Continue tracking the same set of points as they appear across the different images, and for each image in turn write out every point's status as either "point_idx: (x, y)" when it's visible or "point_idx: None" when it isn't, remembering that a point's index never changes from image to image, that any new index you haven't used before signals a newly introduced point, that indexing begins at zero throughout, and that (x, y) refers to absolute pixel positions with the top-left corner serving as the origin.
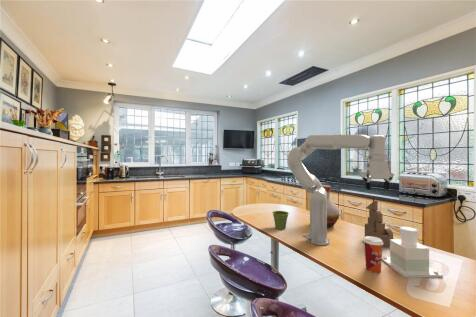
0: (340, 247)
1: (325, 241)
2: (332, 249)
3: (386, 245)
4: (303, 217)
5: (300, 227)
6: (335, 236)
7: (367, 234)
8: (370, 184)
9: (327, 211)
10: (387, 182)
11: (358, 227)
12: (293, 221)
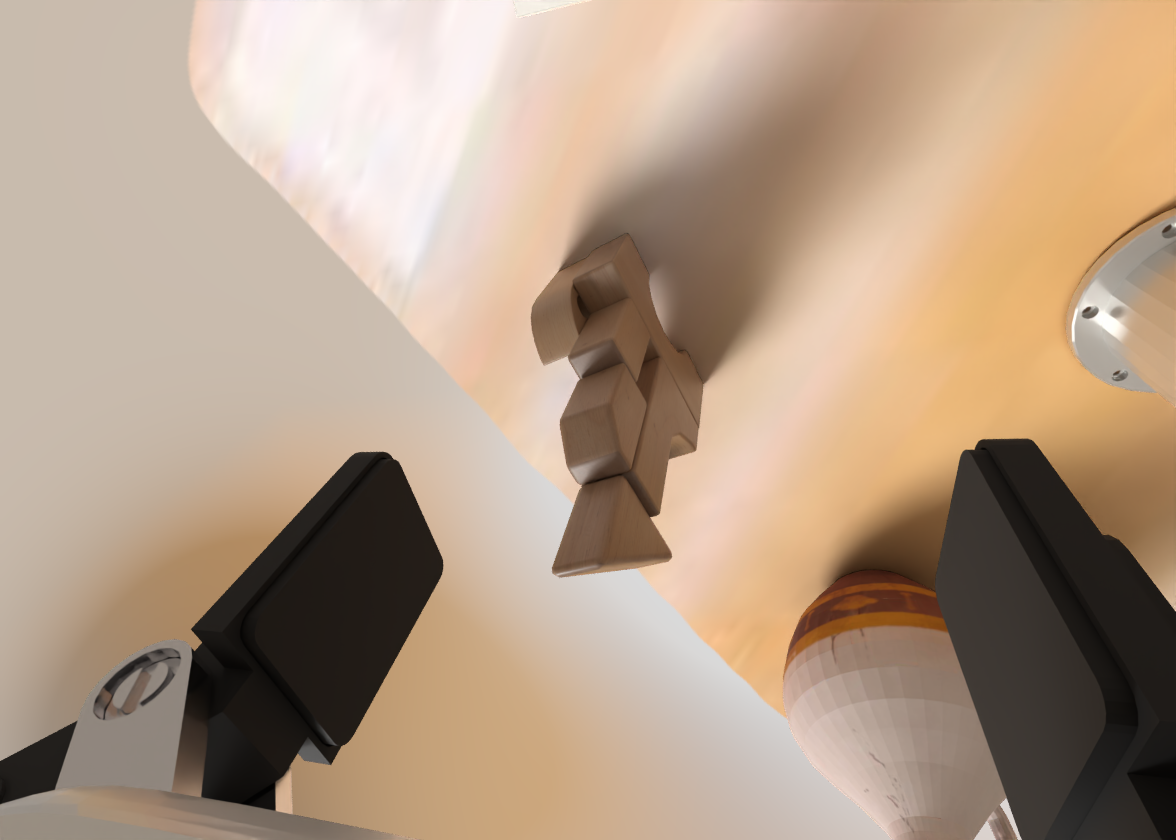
0: (1040, 174)
1: (1166, 248)
2: (1173, 106)
3: (616, 241)
4: None
5: None
6: (925, 413)
7: (690, 384)
8: (1058, 616)
9: (951, 666)
10: (242, 643)
11: None
12: None
